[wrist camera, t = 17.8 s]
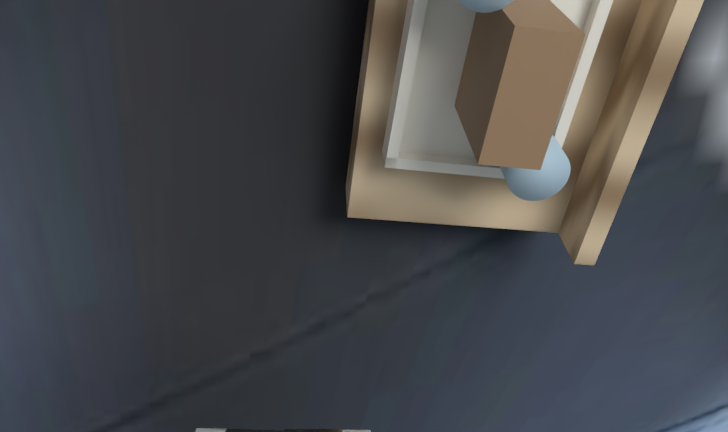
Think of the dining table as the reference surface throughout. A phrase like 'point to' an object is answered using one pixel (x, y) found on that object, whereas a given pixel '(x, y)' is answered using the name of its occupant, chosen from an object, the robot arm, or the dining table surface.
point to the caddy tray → (437, 80)
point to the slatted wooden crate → (582, 146)
